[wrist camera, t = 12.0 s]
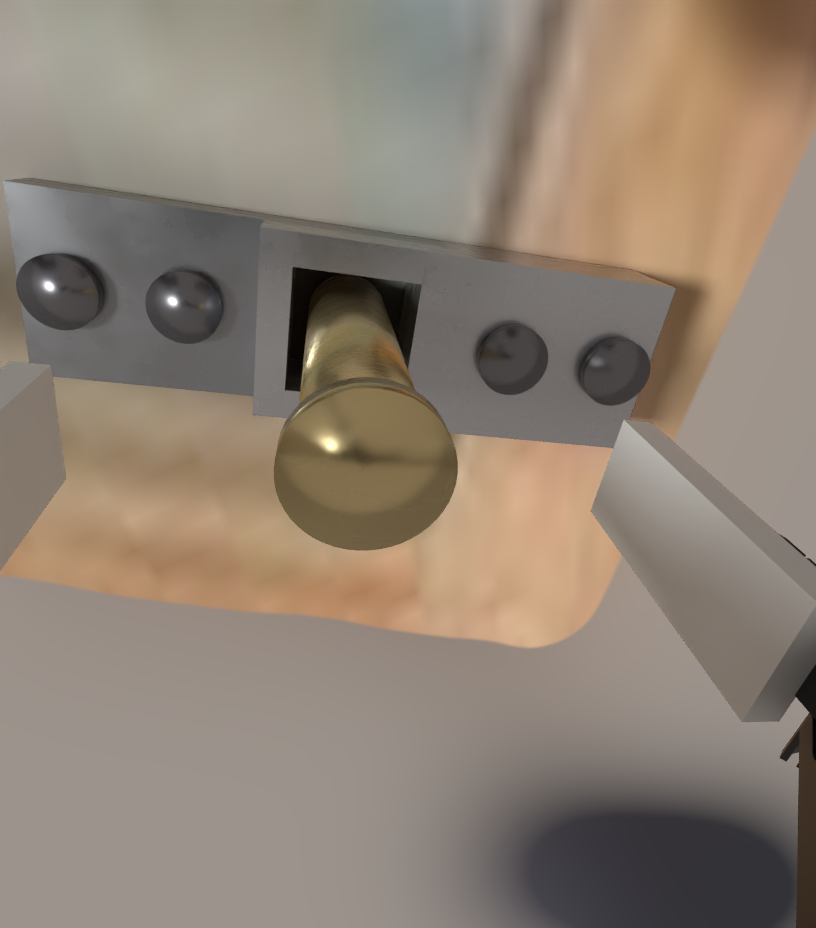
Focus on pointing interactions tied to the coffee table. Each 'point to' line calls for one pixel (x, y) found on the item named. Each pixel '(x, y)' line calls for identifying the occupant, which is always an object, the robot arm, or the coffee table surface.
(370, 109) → the coffee table surface
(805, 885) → the robot arm
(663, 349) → the coffee table surface
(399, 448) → the brass pin
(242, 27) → the coffee table surface
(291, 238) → the riveted socket bracket
